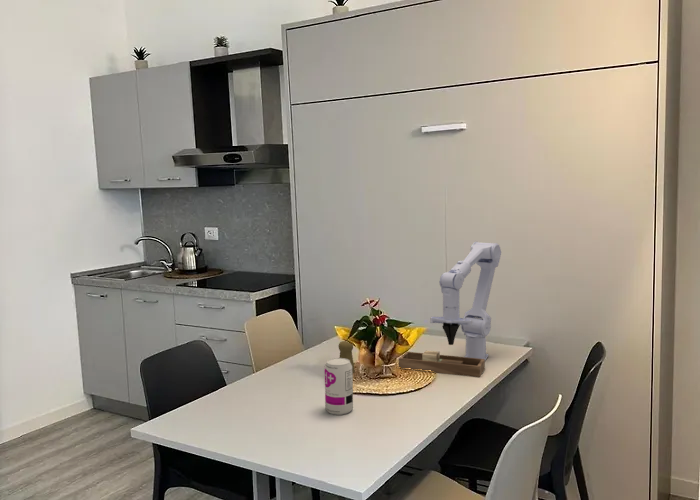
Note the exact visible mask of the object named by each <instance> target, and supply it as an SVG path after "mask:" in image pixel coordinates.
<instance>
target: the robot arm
mask: <svg viewBox="0 0 700 500" xmlns="http://www.w3.org/2000/svg"><path fill="white" fill-rule="evenodd" d="M469 250H470V252H469V253H468V254H467V256H465V257H464V259H463V260H458V261H457V262H456V263H455V264H454V265H453V266H452V267H451V269H449V270H448V271H446V272H443V273H442V274H441V276H440V278H439V286H440V290H441V294H442V316H431V317H430V324H441V325H442V329H443V331H444V334H445V336H446V339H447V342H448V345H449V346H453V345H454V344H455V338H456V335H457V332H458V330H459V328H460V329H461V332H463V335H464V336H465V356H464V357H469V358H479V359H485V361H486V360H487V359H488V357H489V354H488V353H487V338H486V337H488V335H489V334H490V332H491V327H492V325H491V321H492V317H491V316H490V315H489V313H488V312H487V308H488V303H489V300H490V299H489V298H490V294H491V289H492V286H493V280H494V276H495V272H496V268H497V267H498V266H499V263H500V260H501V255H502V249H501V246H500V244H499V243H498V242H481V241H474V242H473V243H472V244H471V246H470V249H469ZM475 264H476V265H477V266H479V267H480V273H479V276H478V279H477V280H478V281H477V283H476V284H477V285H476V289H475V293H474V298H473V301H472V307H471V308H470V309H468V310H466V311H465V313H464V316H463V318H462V317H460V290H461V288H462V287H463V285H464V282H465V279H466V277H467V276H468V275H470V273H471V271H472V267H473V266H474V265H475Z"/></svg>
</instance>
